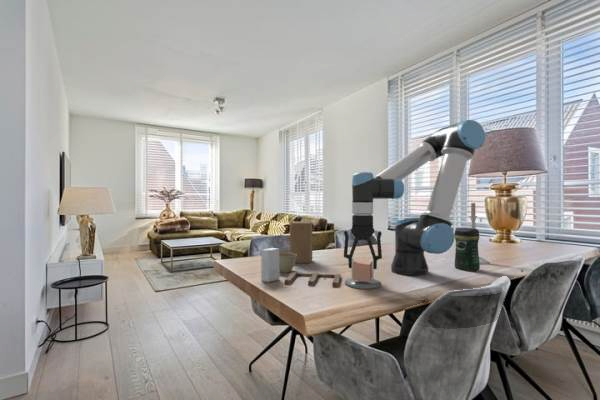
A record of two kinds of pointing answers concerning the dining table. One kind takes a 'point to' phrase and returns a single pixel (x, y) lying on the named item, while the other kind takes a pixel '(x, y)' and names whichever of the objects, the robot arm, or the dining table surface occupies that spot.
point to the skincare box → (269, 264)
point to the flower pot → (286, 261)
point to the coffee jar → (467, 249)
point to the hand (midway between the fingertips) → (362, 277)
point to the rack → (313, 278)
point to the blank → (362, 269)
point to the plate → (362, 284)
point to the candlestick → (473, 225)
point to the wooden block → (301, 241)
